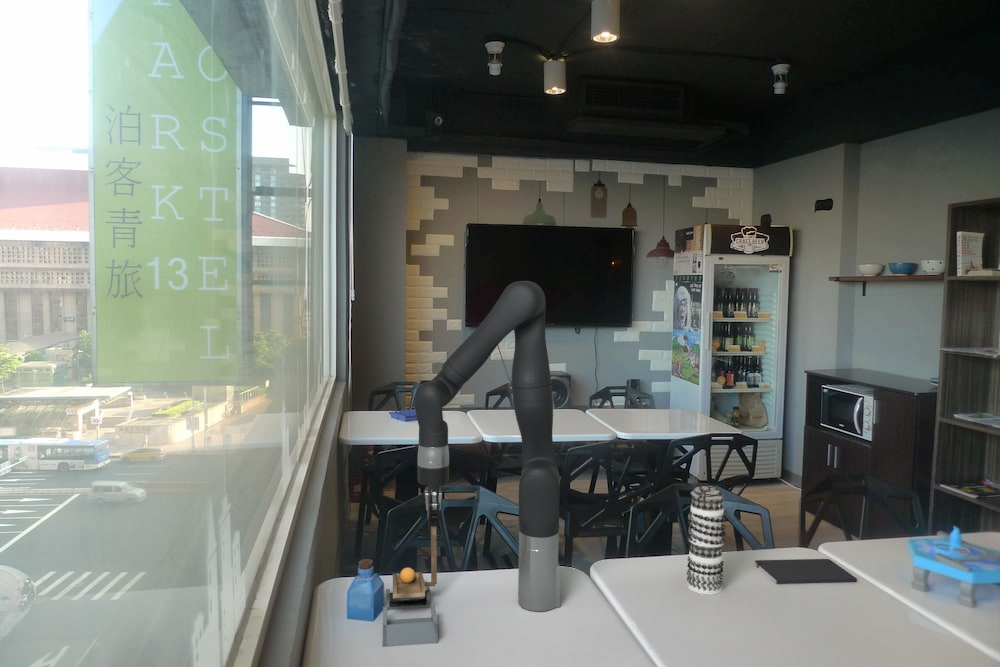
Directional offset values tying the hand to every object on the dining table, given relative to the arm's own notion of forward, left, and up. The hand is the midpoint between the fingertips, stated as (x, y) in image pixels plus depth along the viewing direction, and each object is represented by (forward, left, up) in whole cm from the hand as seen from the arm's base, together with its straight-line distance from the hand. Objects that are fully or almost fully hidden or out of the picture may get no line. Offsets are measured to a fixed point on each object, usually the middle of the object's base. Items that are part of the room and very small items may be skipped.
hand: (433, 533), depth 166 cm
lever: (+5, +7, -11) cm, 14 cm away
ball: (+6, 0, -10) cm, 12 cm away
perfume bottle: (+16, +10, -14) cm, 24 cm away
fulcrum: (+6, +7, -14) cm, 17 cm away
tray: (+6, +20, -14) cm, 25 cm away
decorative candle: (-67, +7, -14) cm, 69 cm away
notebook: (-97, +2, -15) cm, 98 cm away
